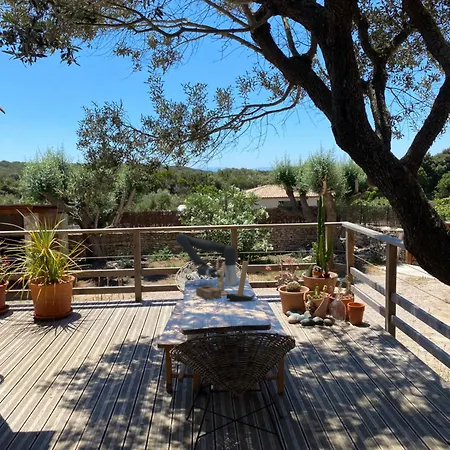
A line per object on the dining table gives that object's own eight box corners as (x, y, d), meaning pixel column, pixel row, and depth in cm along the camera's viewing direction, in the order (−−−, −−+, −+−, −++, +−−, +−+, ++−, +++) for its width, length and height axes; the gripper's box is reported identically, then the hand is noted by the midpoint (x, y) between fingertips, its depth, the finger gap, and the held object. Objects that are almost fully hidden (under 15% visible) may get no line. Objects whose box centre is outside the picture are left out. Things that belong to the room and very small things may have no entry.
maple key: (221, 289, 337) (221, 269, 336) (224, 290, 334) (224, 270, 333) (217, 290, 336) (217, 270, 334) (219, 291, 332) (219, 271, 331)
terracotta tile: (221, 291, 342) (221, 290, 342) (229, 294, 332) (229, 293, 331) (213, 292, 338) (213, 291, 338) (220, 296, 328) (220, 294, 328)
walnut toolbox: (210, 293, 338) (210, 285, 338) (220, 297, 322) (220, 289, 322) (196, 295, 332) (196, 287, 332) (206, 300, 317) (206, 292, 316)
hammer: (252, 302, 316) (259, 263, 314) (253, 304, 311) (260, 264, 309) (226, 298, 315) (232, 258, 313) (226, 299, 310) (233, 259, 308)
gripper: (204, 268, 343) (214, 272, 327) (219, 267, 349) (230, 270, 334) (204, 278, 343) (214, 282, 328) (220, 276, 350) (230, 279, 335)
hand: (222, 276), depth 331 cm, fingers closed on maple key, 4 cm apart
